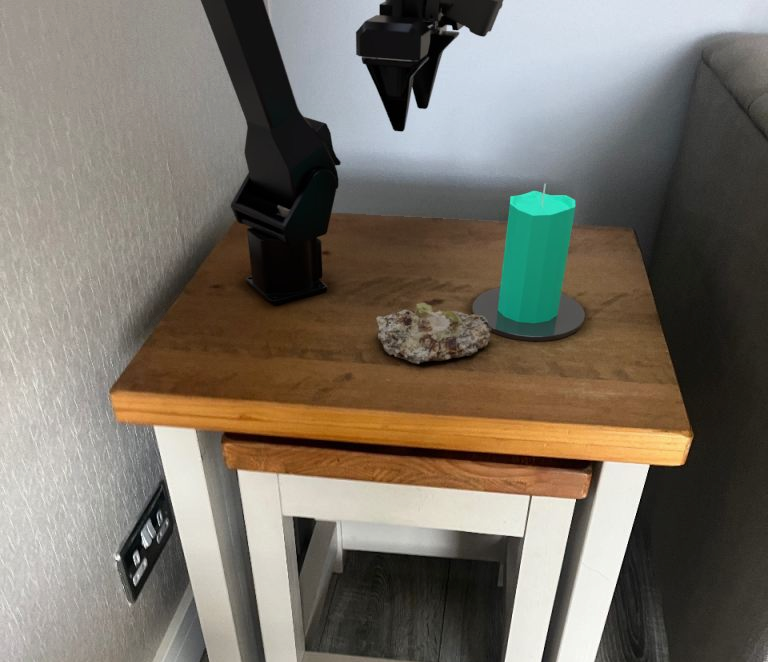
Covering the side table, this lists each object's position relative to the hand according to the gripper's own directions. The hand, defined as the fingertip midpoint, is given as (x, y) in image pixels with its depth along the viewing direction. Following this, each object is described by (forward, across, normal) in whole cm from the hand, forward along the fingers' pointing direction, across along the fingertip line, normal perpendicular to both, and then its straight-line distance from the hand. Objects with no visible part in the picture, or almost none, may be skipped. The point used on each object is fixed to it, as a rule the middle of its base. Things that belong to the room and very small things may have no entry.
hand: (411, 119), depth 83 cm
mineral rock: (+13, -23, -9) cm, 28 cm away
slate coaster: (+13, -14, -16) cm, 25 cm away
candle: (+13, -14, -16) cm, 25 cm away
